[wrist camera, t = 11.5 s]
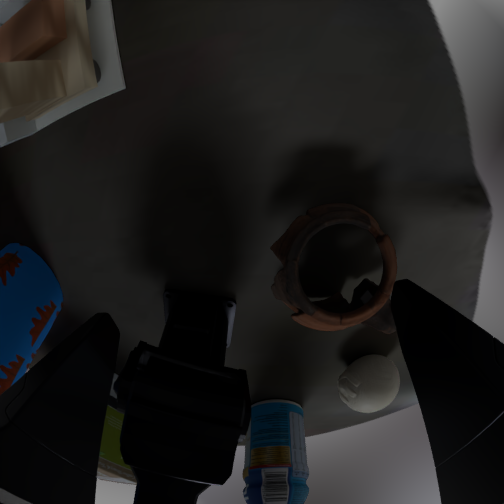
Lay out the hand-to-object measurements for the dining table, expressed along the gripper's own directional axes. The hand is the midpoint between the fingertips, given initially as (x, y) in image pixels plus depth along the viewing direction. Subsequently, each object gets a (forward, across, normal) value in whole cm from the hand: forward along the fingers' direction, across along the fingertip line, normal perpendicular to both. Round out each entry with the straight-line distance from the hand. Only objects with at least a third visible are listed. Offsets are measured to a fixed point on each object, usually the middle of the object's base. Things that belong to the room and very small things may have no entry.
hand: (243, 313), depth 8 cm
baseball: (+13, -9, +23) cm, 28 cm away
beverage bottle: (+13, +2, +33) cm, 36 cm away
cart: (+13, +12, -14) cm, 22 cm away
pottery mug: (+13, -5, +8) cm, 16 cm away
